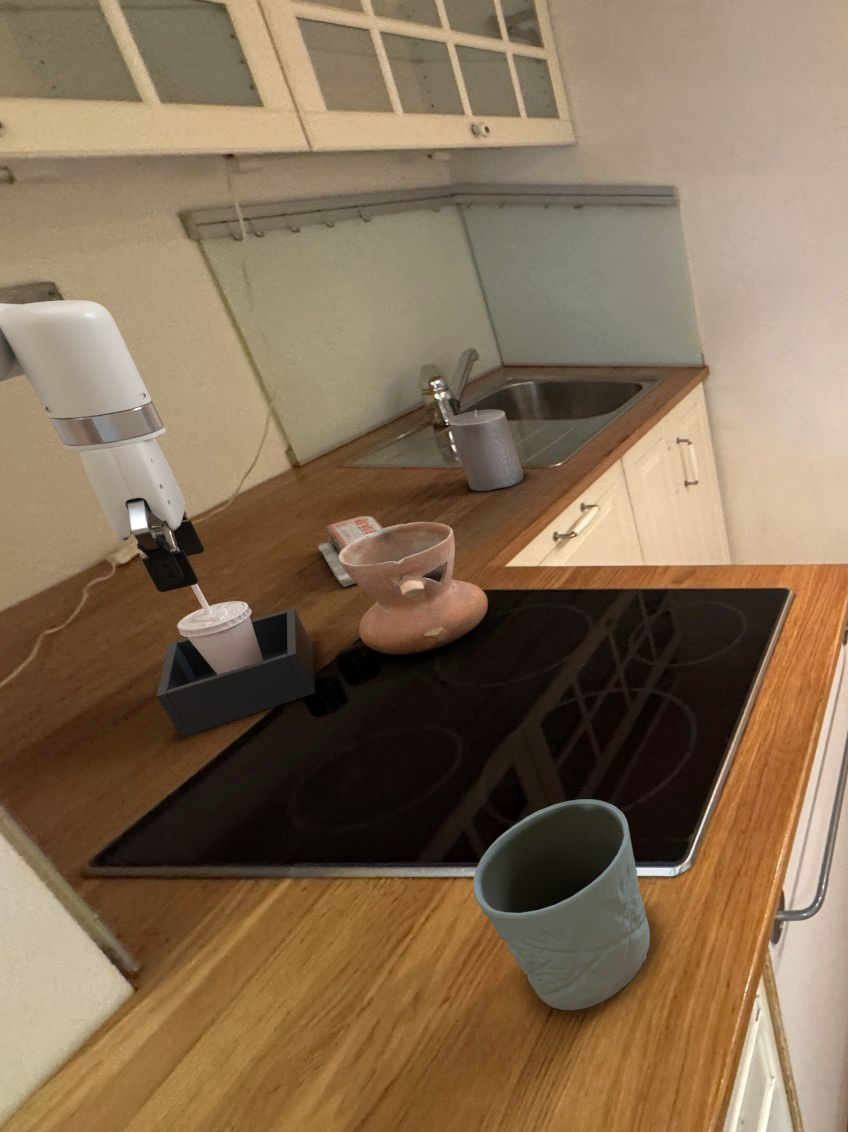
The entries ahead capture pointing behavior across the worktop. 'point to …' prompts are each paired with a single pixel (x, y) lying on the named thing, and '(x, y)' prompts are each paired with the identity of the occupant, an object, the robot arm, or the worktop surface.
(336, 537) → the packaged product
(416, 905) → the worktop surface
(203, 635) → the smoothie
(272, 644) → the bin
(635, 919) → the embossed green plant pot
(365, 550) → the pink clay vessel
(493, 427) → the pillar candle
